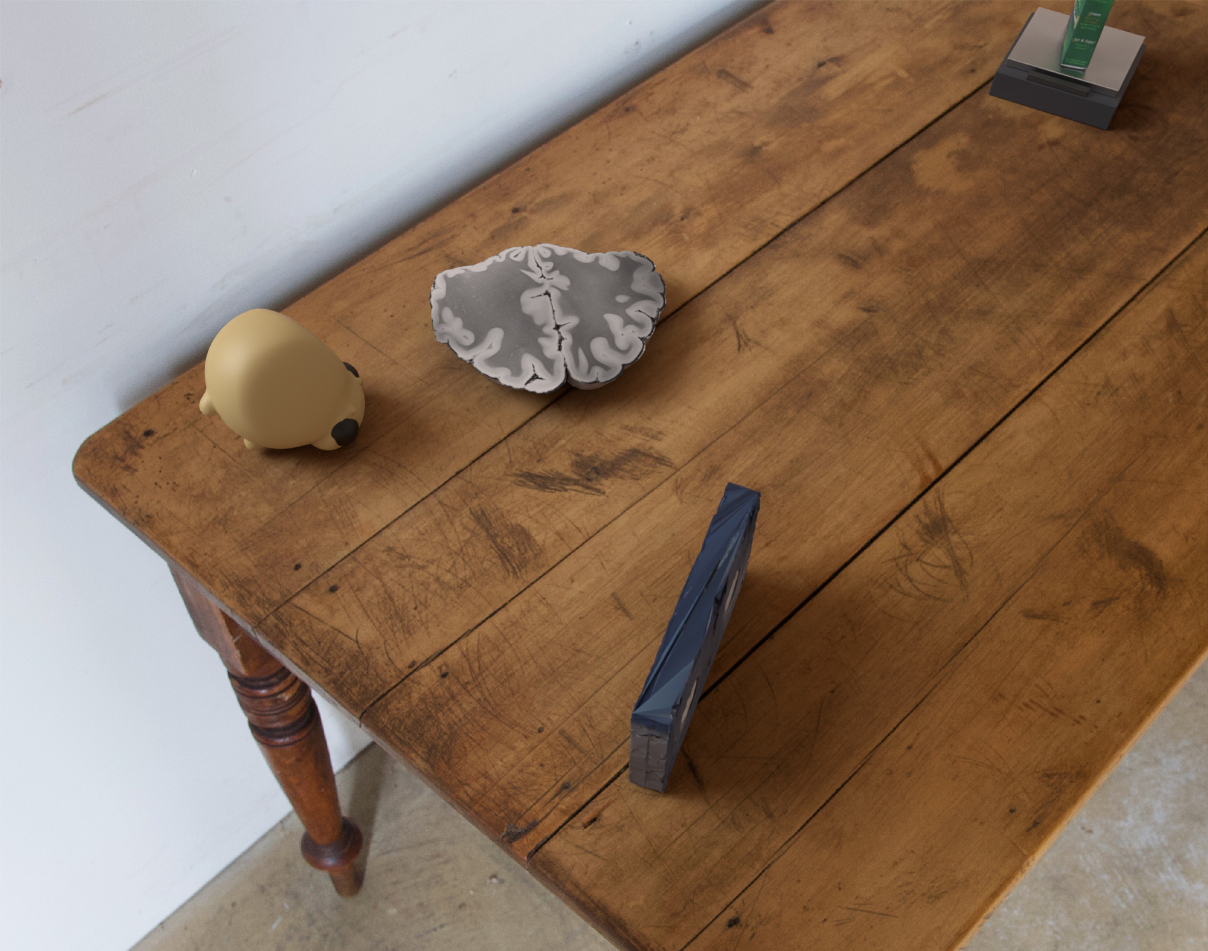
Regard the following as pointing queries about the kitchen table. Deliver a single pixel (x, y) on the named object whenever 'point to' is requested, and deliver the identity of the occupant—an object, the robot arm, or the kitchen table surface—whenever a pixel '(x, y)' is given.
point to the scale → (1067, 71)
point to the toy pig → (281, 385)
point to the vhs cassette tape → (692, 640)
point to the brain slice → (549, 315)
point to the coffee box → (1084, 31)
